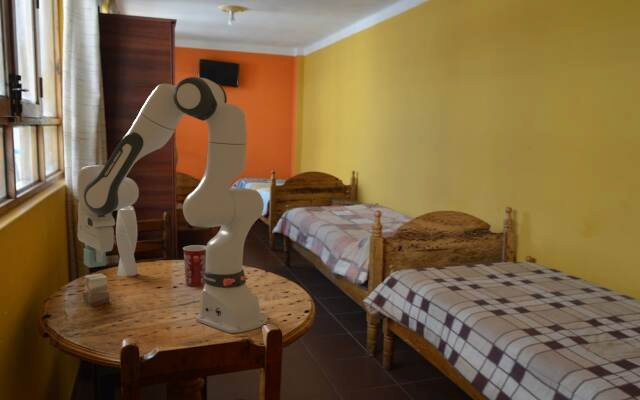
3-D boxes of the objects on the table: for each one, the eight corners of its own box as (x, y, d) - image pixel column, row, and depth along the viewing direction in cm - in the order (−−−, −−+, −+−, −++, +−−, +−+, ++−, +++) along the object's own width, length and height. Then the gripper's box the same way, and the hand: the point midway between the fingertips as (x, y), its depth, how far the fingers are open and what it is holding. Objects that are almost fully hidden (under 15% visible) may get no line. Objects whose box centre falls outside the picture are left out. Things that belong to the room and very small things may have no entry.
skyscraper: (127, 279, 185) (126, 204, 181) (111, 276, 188) (110, 202, 184) (142, 273, 192) (141, 201, 188) (126, 271, 195) (125, 200, 191)
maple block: (107, 292, 159) (107, 277, 159) (91, 295, 156) (90, 279, 155) (101, 288, 163) (100, 273, 162) (85, 291, 159) (84, 276, 159)
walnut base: (109, 301, 160) (109, 292, 159) (90, 305, 156) (89, 296, 155) (102, 296, 164) (101, 287, 163) (83, 300, 160) (82, 291, 159)
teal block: (106, 265, 158) (105, 249, 157) (89, 267, 155) (89, 252, 154) (100, 261, 162) (99, 246, 161) (83, 264, 158) (83, 248, 157)
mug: (183, 280, 186) (183, 244, 184) (208, 279, 189) (208, 244, 187) (182, 291, 174) (182, 253, 172) (208, 290, 176) (209, 253, 174)
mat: (119, 304, 159) (119, 302, 159) (87, 311, 152) (87, 309, 152) (104, 294, 168) (104, 292, 167) (73, 301, 161) (73, 299, 160)
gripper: (71, 212, 161) (72, 254, 163) (95, 223, 147) (96, 268, 149) (91, 210, 165) (92, 251, 167) (117, 221, 151) (118, 265, 153)
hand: (94, 259), depth 158 cm, fingers closed on teal block, 5 cm apart
